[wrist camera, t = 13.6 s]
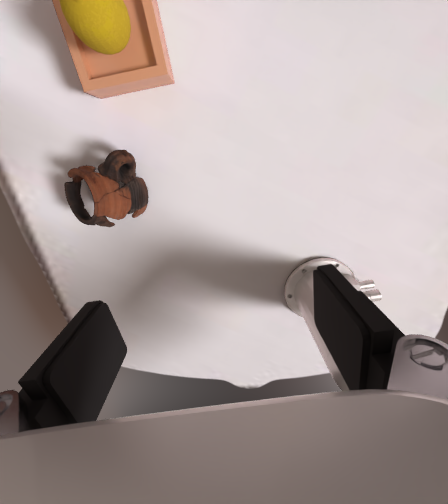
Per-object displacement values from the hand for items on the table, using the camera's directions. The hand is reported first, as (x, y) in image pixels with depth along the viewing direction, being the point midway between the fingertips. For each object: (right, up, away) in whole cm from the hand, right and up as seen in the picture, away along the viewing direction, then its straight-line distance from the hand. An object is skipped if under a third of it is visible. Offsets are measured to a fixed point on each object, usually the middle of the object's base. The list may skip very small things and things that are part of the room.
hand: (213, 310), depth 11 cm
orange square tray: (-12, +28, +18) cm, 36 cm away
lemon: (-12, +27, +16) cm, 33 cm away
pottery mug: (-15, +13, +25) cm, 32 cm away
